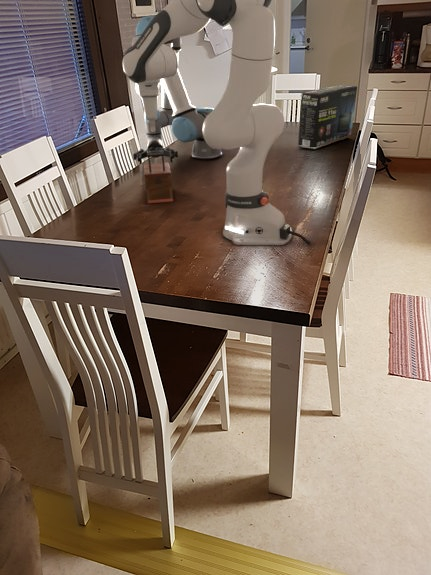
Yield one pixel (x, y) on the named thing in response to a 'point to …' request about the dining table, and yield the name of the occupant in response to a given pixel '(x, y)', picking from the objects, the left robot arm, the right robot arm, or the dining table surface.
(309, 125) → the router box
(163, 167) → the lid
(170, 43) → the left robot arm
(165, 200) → the chest
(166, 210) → the dining table surface
